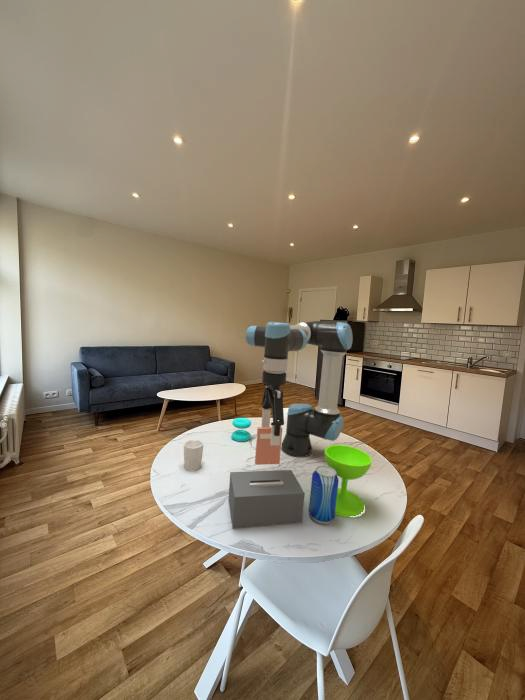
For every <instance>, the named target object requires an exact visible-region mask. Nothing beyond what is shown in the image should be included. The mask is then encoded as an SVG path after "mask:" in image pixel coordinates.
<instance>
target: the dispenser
mask: <svg viewBox="0 0 525 700" xmlns="http://www.w3.org/2000/svg"><path fill="white" fill-rule="evenodd" d="M304 502H305V492H304V490H303V488H302V486H301V485H300V482H299V481H298V479H297V477H296V476H295V474H294V472H293V471H292V469H281V470H280V469H277V470H275V469H274V470H273V469H272V470H250V471H230V472H229V487H228V506H229V513H230V520H231V527H232V529H242V528H255V527H256V528H257V527H268V526H269V527H270V526H280V525H293V524H302V523H303V515H304V514H303V513H304V504H305V503H304Z"/></svg>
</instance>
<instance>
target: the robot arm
mask: <svg viewBox="0 0 525 700" xmlns="http://www.w3.org/2000/svg"><path fill="white" fill-rule="evenodd" d="M353 337H354V336H353V330H352V328H351V325H350V324H349V323H346V322H341V321H326V320H325V321H321V320H313V321H304V322H298V323H296V324H294V325H293V324H292V325H290V324H289V323H287V322H286V323H285V322H273V321H269V322H267V324H266V325H265V326H264V325H263V326H261V325H251V326H250V325H249V327H248V328H247V329H246V332H245V341H246V343H247V344H248V345H249V346H253V347H260V348H264V351H263V352H264V353H263V354H264V355H263V360H261V363H262V364H263V367H262V368H263V371H262V379H261V382H262V383H263V384H264V389H263V394H262V399H261V406H262V412H261V413H262V415H261V427H272V430H271V443H270V445H280V435H281V427H282V426H284V425H285V417H284V416H285V415H284V399H283V397H284V391H283V390H282V391H281V388H280V387H281V386H284V385H285V384H286V383H287V373H286V372H287V370H288V363H289V362H288V360H289V358H288V356H289V352H298V351H301V350H304V349H305V348H306V347H307V345H311V346H318V347H320V352H321V353H322V355H323V356H322V364H321V365H322V366H321V374H320V375H321V377H320V383H319V384H320V385H319V393H318V402H317V403H318V404H317V405H316V406H315V407H314V409H313V405H311V404H309V403H292V404H290V405H289V406H288V410H287V413H286V415H287V417H286V418H287V419H286V431H285V434H284V437H283V438H282V439H283V440H282V441H281V451H282V452H283V453H284V454H286V455H289V456H292V457H295V456H306V455H309V454H310V453H311V452H313V451H312V450H313V447H312V441H311V438H310V435H311V436H314V437H318V438H321V439H323V440H327V441H331V442H334V441H336V440H337V439H338V438H339V436H340V434H341V432H342V430H343V427H344V423H345V422H344V417H343V416H342V415H341V411H340V409H339V408H338V403H339V402H338V401H339V395H340V383H341V375H342V366H343V365H342V363H343V357H344V356H345V355H346V354H347V351H348V350H350V349H351V348H352V345H353V341H354V340H353ZM271 416H272V422H271ZM311 454H312V453H311ZM311 454H310V455H311ZM310 455H309V456H310ZM306 457H307V456H306Z"/></svg>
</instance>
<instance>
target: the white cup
mask: <svg viewBox="0 0 525 700" xmlns="http://www.w3.org/2000/svg"><path fill="white" fill-rule="evenodd" d="M203 452H204V442H203V441H201V440H198V439H190V440H187V441H185V442H184V443H183V462H184V465H183V467H184V470H186V471H188V472H193V471H197V470H200V469H201V467H202V461H203V460H202V459H203V454H204V453H203Z"/></svg>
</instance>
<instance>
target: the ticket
mask: <svg viewBox="0 0 525 700" xmlns="http://www.w3.org/2000/svg"><path fill="white" fill-rule="evenodd" d="M271 430H272V426H270V427H259V426H258V427H257V428H256V442H255V443H256V445H255V457H254V464H255V465H256V466H257V465H280V461H281V460H280V459H281V451H282V449H281V445H282V441H283V440H282V439H283V427H282V426H281V435H280V445H270V443H271Z"/></svg>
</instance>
